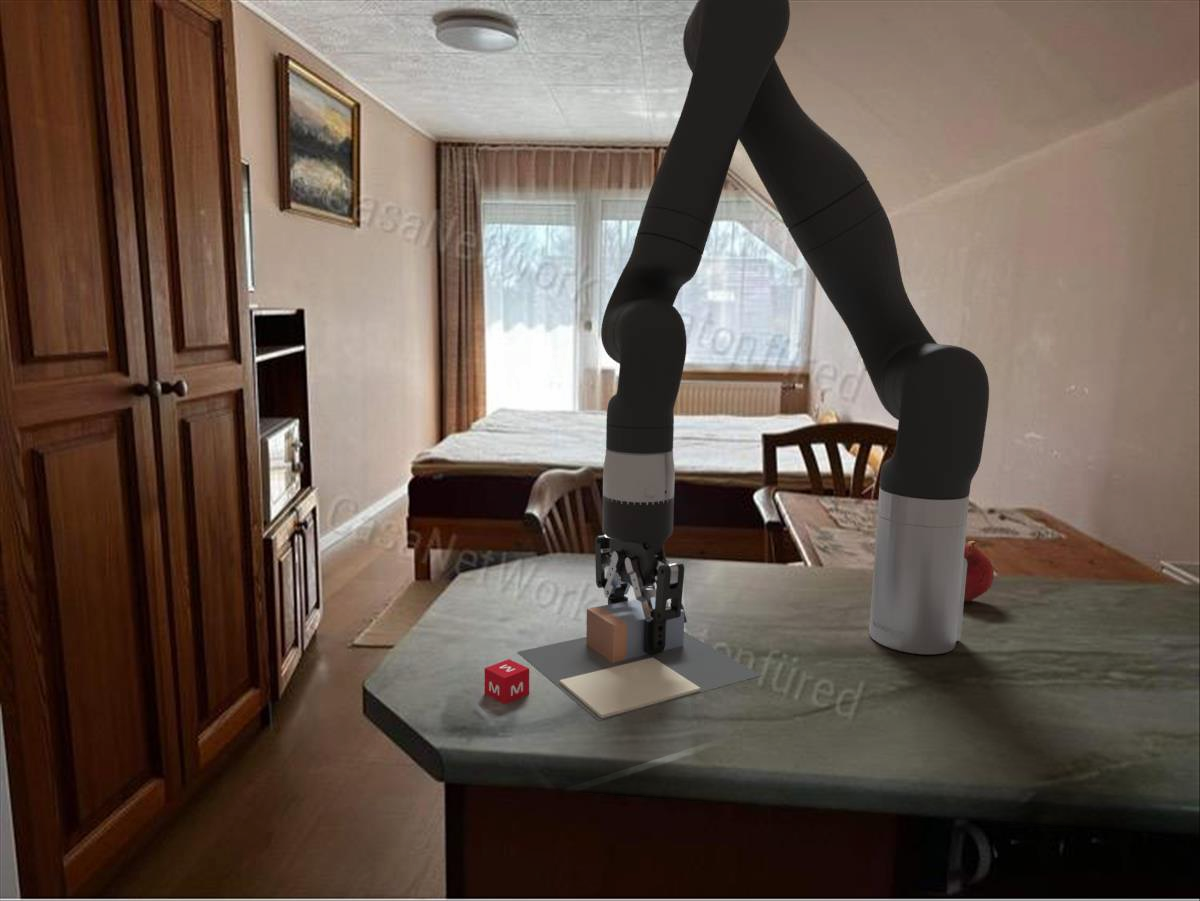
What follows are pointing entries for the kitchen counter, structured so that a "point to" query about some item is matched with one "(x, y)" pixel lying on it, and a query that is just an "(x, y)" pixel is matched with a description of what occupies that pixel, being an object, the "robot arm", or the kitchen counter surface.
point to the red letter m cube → (506, 681)
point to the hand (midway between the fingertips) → (634, 640)
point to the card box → (626, 630)
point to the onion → (977, 572)
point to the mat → (634, 675)
